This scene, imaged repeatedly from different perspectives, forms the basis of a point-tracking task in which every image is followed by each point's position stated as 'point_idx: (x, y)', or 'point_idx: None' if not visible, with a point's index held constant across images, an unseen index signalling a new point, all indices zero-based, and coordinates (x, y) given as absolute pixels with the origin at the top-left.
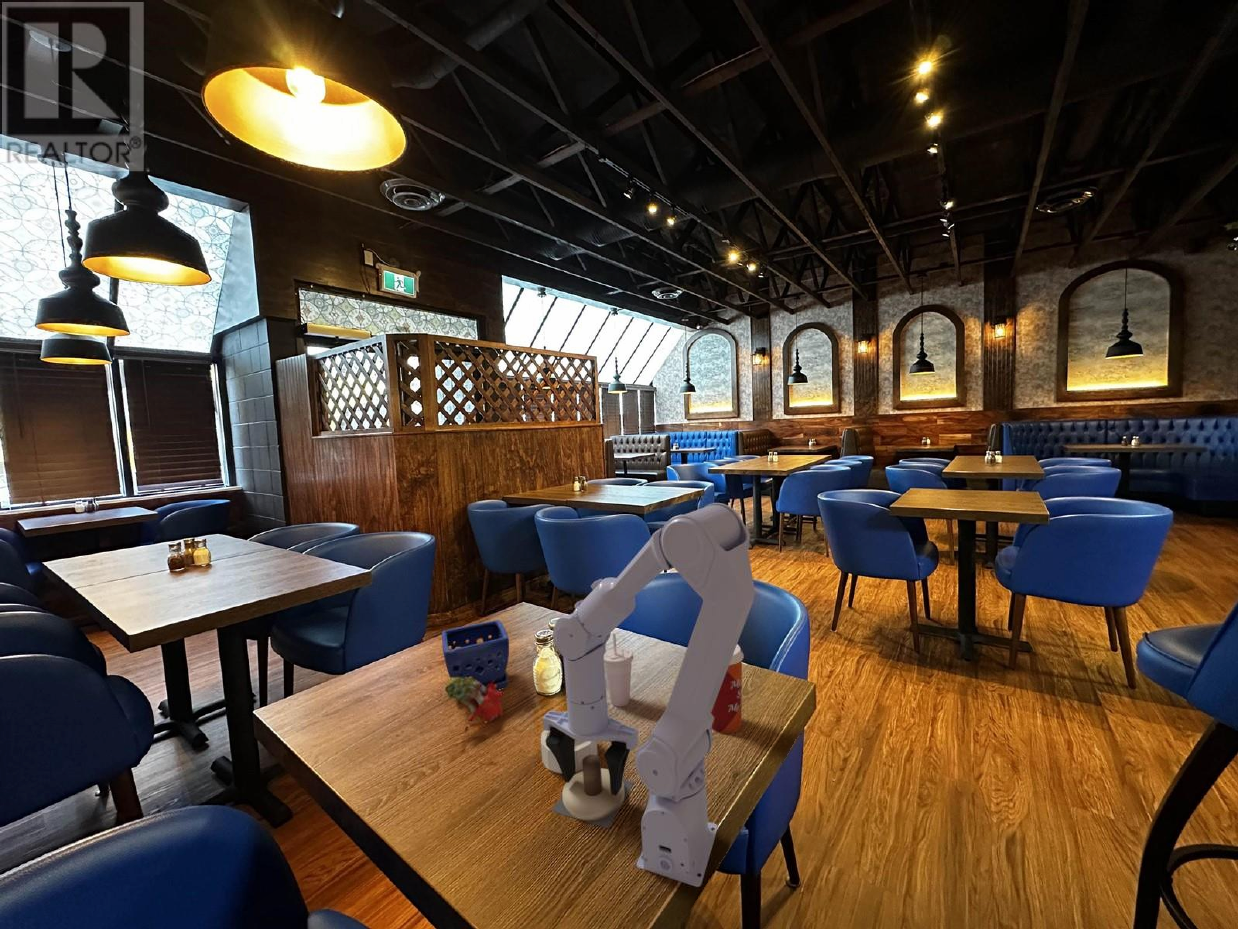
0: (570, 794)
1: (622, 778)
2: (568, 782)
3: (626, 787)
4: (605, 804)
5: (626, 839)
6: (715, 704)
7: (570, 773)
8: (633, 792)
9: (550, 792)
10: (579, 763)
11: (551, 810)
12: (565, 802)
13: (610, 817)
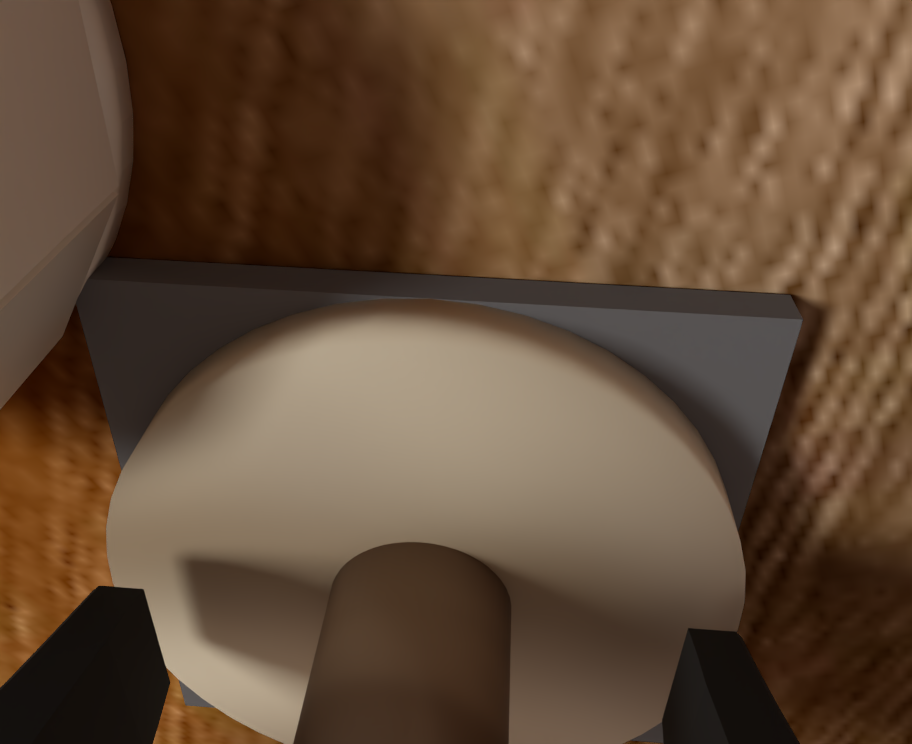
0: (251, 679)
1: (772, 699)
2: (168, 686)
3: (724, 411)
4: (607, 705)
5: (808, 727)
6: None
7: (134, 712)
8: (791, 370)
9: (18, 528)
10: (31, 365)
11: (187, 702)
12: (265, 731)
13: None
